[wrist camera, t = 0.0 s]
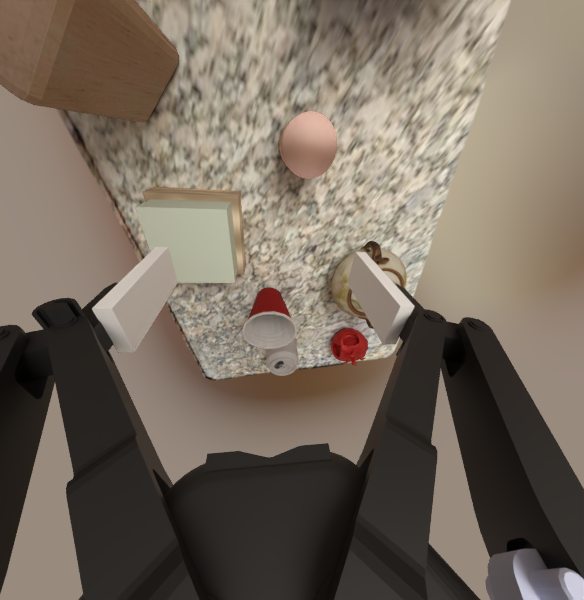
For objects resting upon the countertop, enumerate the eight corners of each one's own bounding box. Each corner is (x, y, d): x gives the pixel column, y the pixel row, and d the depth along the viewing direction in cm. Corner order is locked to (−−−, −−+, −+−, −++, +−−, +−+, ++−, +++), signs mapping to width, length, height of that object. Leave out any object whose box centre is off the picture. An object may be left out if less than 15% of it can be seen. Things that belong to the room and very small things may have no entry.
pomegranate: (368, 335, 63) (382, 361, 56) (340, 352, 67) (350, 379, 59) (350, 318, 58) (362, 344, 51) (321, 337, 62) (329, 364, 54)
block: (147, 126, 31) (25, 110, 15) (65, 51, 27) (-236, -86, 11) (184, 58, 28) (77, -54, 12) (98, -43, 23) (-279, -460, 7)
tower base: (156, 186, 36) (142, 191, 32) (240, 190, 38) (237, 196, 34) (176, 262, 45) (168, 273, 41) (245, 262, 46) (243, 274, 42)
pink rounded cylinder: (279, 116, 32) (283, 108, 25) (325, 120, 33) (341, 114, 26) (278, 170, 36) (281, 177, 29) (318, 172, 37) (331, 180, 30)
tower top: (150, 199, 33) (134, 206, 29) (230, 201, 34) (226, 209, 30) (171, 269, 40) (161, 283, 36) (237, 269, 41) (235, 282, 37)
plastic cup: (244, 313, 54) (240, 351, 44) (247, 275, 48) (243, 310, 38) (287, 317, 56) (291, 353, 46) (295, 281, 50) (303, 315, 40)
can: (274, 317, 55) (276, 354, 46) (298, 325, 58) (305, 362, 48) (261, 336, 59) (260, 374, 49) (285, 343, 62) (289, 380, 52)
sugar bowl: (320, 234, 44) (341, 270, 32) (393, 218, 43) (442, 248, 31) (328, 308, 55) (346, 354, 43) (385, 296, 55) (419, 339, 43)
